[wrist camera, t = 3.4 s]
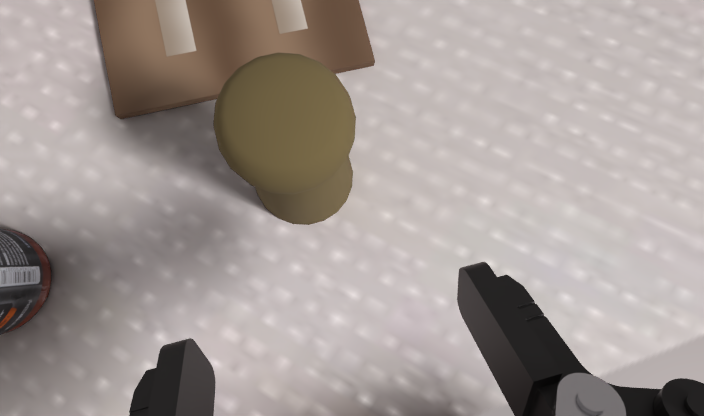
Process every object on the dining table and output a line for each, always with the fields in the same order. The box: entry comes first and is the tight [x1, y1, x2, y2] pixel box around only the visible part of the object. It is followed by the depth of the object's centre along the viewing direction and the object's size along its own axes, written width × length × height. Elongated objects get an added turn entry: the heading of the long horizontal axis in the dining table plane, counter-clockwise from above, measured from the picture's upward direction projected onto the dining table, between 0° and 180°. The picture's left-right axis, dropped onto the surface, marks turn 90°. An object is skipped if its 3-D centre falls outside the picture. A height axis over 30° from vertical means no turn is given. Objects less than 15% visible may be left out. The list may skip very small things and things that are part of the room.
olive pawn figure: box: [213, 52, 356, 225], centre depth 18 cm, size 6×6×11 cm
